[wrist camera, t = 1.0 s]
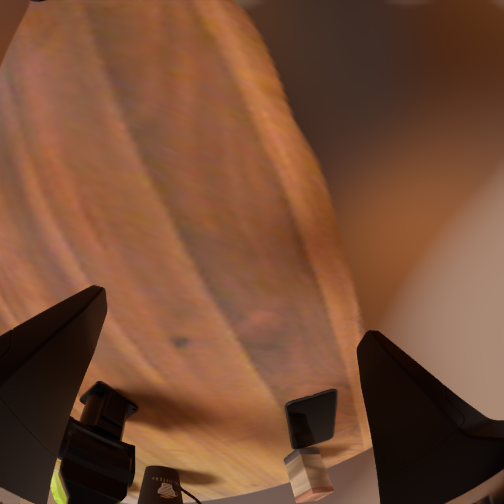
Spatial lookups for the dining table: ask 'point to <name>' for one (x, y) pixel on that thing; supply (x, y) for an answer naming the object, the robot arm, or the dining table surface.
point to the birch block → (307, 475)
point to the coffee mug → (161, 487)
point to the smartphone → (311, 418)
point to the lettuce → (58, 486)
